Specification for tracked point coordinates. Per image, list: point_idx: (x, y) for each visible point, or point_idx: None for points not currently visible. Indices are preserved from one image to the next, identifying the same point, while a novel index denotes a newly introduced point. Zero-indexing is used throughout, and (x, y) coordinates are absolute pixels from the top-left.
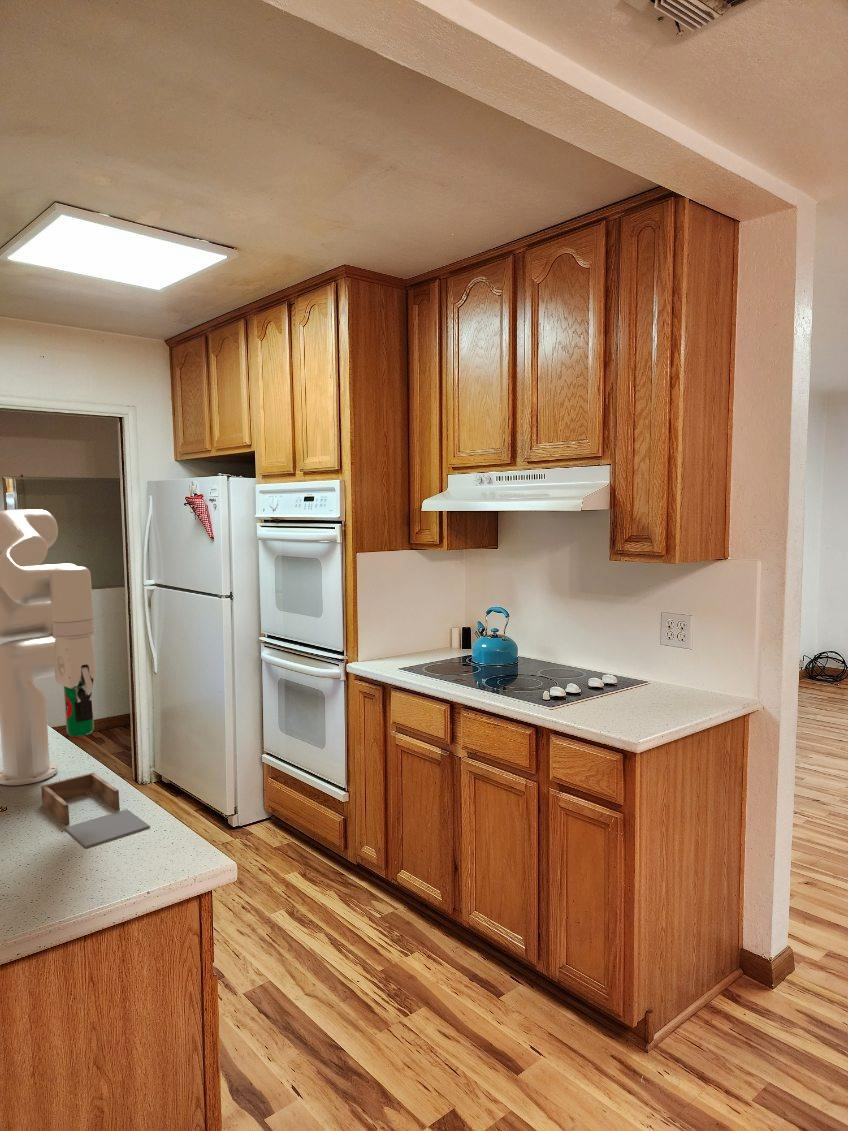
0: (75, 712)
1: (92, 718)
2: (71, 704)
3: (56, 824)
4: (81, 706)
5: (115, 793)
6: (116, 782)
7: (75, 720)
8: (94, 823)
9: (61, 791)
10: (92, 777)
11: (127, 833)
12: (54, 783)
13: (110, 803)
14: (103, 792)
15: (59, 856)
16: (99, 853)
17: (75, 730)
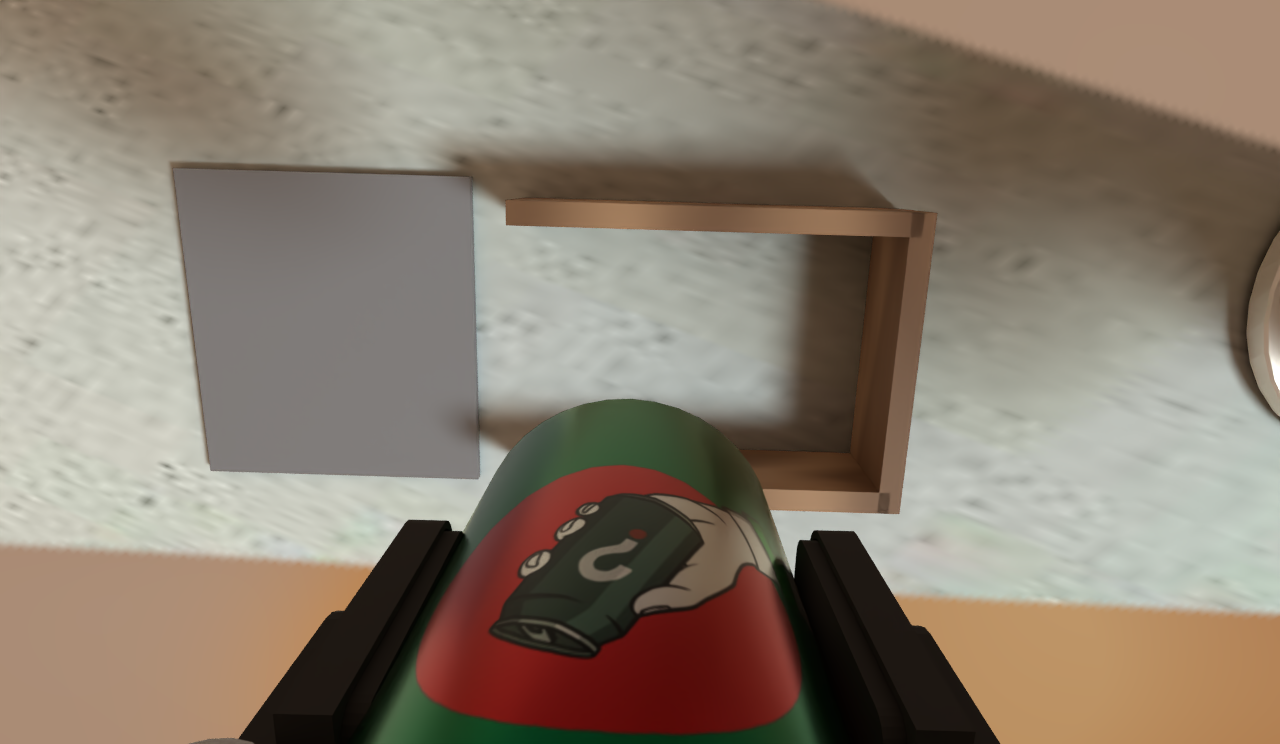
0: (370, 591)
1: None
2: (424, 651)
3: (569, 168)
4: (245, 738)
5: None
6: None
7: (432, 522)
8: (414, 302)
9: (881, 313)
10: (852, 487)
11: (198, 367)
12: (909, 287)
13: None
14: None
15: (169, 40)
16: (84, 194)
17: (502, 465)
